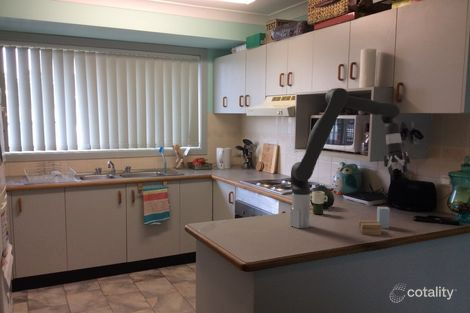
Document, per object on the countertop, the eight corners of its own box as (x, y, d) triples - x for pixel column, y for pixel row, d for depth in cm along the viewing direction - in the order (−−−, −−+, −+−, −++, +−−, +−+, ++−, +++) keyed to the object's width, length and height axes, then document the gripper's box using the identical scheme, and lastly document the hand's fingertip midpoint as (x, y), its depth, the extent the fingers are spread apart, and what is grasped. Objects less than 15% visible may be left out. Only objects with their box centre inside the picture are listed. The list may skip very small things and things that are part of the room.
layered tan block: (381, 235, 198) (381, 225, 198) (362, 234, 199) (362, 224, 199) (376, 230, 207) (376, 220, 207) (358, 229, 208) (358, 220, 208)
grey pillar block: (389, 228, 210) (389, 209, 209) (379, 228, 211) (379, 208, 210) (386, 225, 215) (387, 207, 214) (376, 225, 216) (377, 206, 215)
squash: (324, 203, 246) (332, 182, 253) (303, 200, 256) (311, 181, 263) (333, 215, 255) (340, 195, 262) (312, 212, 265) (319, 193, 271)
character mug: (328, 213, 242) (329, 192, 241) (325, 216, 236) (325, 193, 235) (311, 211, 247) (311, 190, 246) (307, 214, 241) (307, 192, 240)
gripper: (378, 145, 220) (382, 175, 218) (400, 140, 208) (405, 172, 206) (387, 144, 224) (391, 174, 222) (410, 140, 212) (414, 172, 210)
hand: (398, 173), depth 214 cm, fingers open, 8 cm apart
